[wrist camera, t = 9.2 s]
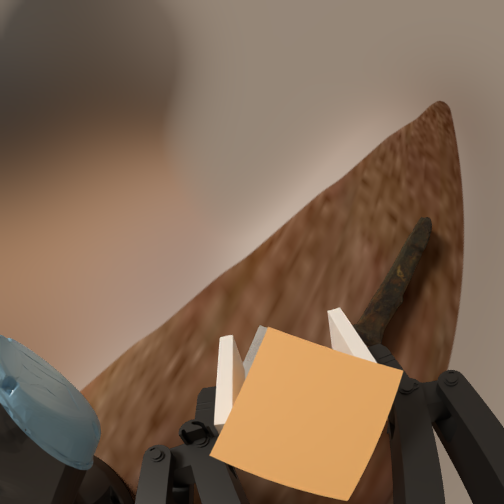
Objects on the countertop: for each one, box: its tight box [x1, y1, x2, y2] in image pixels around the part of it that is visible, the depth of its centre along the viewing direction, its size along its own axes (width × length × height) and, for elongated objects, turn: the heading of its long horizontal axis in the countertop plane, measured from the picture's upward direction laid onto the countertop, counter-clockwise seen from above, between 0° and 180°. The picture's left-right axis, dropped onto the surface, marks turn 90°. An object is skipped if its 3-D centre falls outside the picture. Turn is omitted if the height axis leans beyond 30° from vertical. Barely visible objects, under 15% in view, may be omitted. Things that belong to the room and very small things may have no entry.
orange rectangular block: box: [210, 327, 403, 501], centre depth 12 cm, size 4×4×14 cm
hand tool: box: [352, 217, 432, 346], centre depth 31 cm, size 19×4×5 cm, turn 139°
